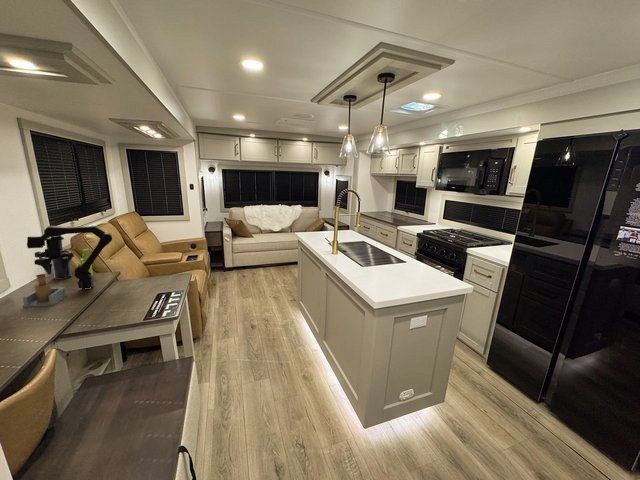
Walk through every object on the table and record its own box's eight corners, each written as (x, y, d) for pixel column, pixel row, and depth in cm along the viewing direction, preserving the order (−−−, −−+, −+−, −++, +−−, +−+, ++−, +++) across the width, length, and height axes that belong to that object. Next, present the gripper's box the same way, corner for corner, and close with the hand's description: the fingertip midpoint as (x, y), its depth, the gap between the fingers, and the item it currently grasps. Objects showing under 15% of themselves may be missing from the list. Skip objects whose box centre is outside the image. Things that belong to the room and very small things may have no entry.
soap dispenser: (96, 275, 190) (94, 248, 186) (87, 278, 184) (84, 250, 180) (89, 274, 191) (86, 247, 187) (79, 277, 184) (76, 250, 180)
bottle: (60, 280, 177) (55, 237, 171) (50, 278, 179) (44, 235, 173) (75, 275, 186) (71, 235, 180) (65, 274, 187) (60, 233, 181)
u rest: (37, 297, 151) (36, 288, 150) (66, 295, 156) (65, 287, 155) (23, 307, 140) (21, 297, 139) (54, 305, 145) (53, 295, 143)
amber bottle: (55, 297, 151) (51, 273, 148) (48, 301, 145) (44, 276, 142) (41, 298, 149) (37, 273, 146) (34, 302, 143) (30, 277, 140)
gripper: (55, 242, 164) (58, 266, 167) (22, 249, 145) (26, 276, 148) (73, 244, 164) (75, 267, 167) (43, 251, 146) (46, 277, 149)
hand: (56, 271), depth 158 cm, fingers open, 9 cm apart
